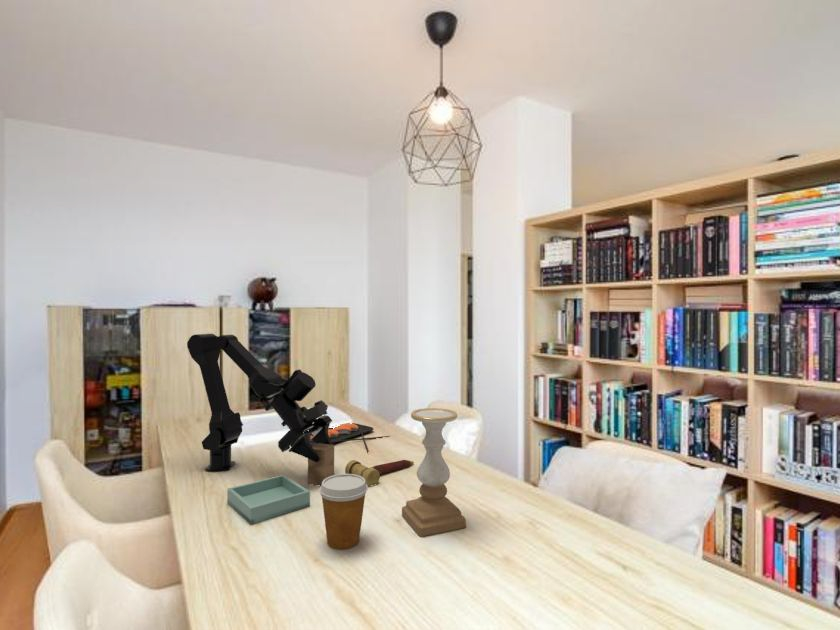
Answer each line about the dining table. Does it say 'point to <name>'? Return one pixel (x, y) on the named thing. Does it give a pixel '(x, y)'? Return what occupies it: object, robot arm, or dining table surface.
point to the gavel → (375, 470)
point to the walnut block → (321, 464)
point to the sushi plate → (346, 433)
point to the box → (267, 498)
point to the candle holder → (433, 480)
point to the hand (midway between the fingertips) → (325, 456)
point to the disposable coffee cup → (343, 509)
